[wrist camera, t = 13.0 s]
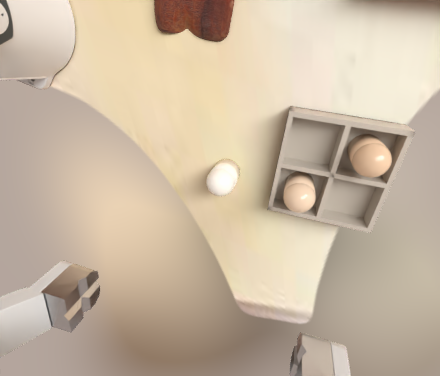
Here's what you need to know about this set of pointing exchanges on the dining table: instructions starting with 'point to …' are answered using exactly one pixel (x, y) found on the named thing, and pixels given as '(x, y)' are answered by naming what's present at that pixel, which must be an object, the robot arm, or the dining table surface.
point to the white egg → (223, 177)
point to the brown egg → (369, 155)
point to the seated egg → (299, 192)
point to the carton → (337, 166)
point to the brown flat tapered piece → (195, 17)
